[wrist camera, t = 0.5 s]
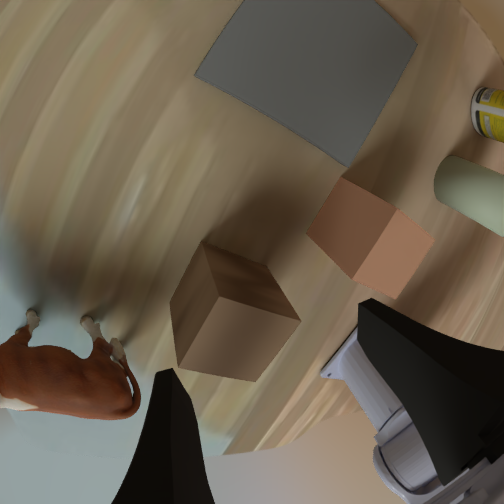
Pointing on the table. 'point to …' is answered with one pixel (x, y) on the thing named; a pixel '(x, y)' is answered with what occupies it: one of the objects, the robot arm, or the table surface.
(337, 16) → the slate mat
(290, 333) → the walnut block
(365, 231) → the terracotta brick
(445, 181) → the sage cylinder
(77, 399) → the bull figurine
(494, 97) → the supplement bottle
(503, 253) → the table surface
